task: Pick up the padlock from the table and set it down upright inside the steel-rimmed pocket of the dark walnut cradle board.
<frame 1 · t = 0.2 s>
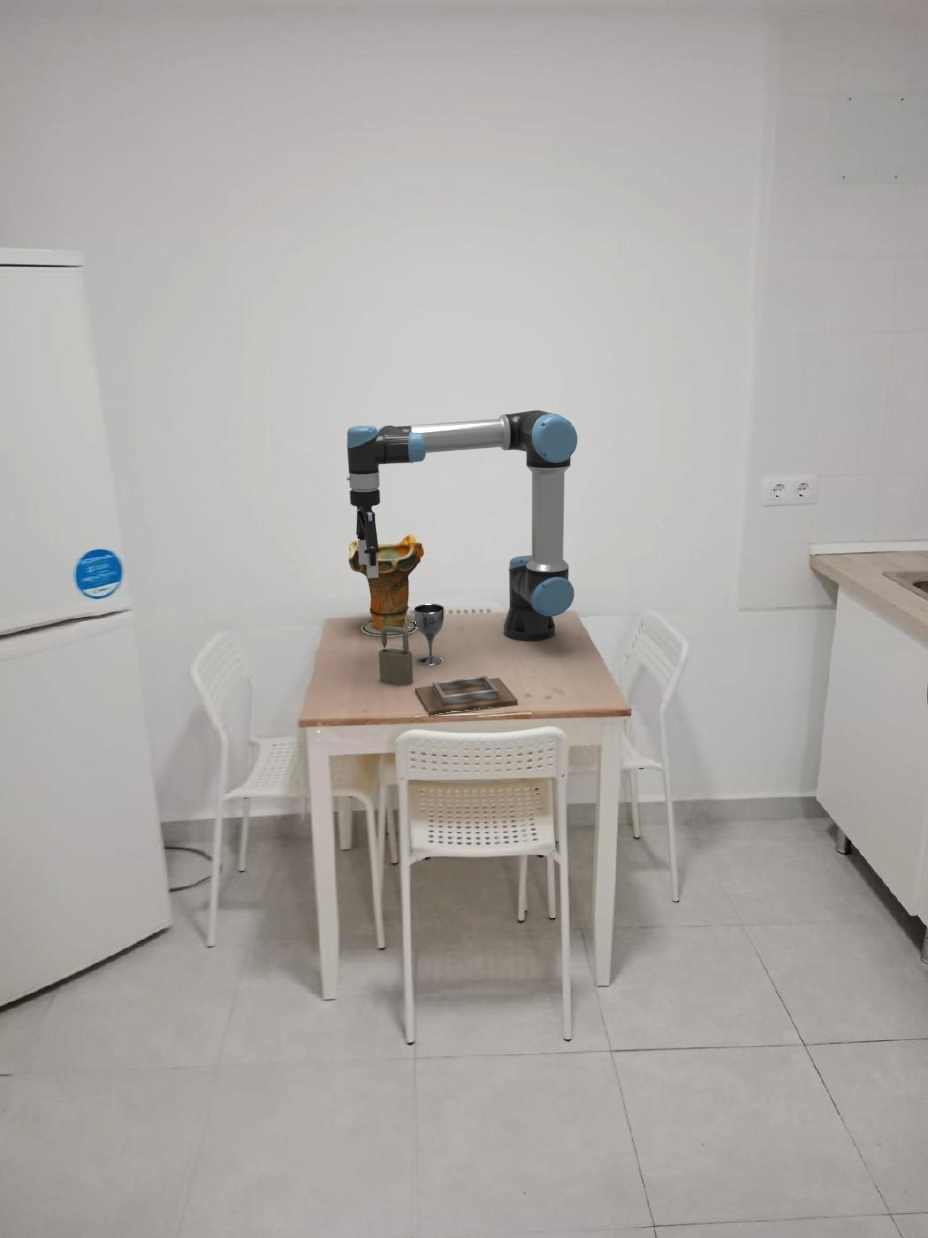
hand: (368, 570, 243), 27 cm above the table, tool pointing down, fingers open, 13 cm apart
padlock: (396, 682, 243), on the table
wine glass: (430, 661, 257), on the table
cradle: (465, 698, 232), on the table
decorative vase: (390, 628, 284), on the table
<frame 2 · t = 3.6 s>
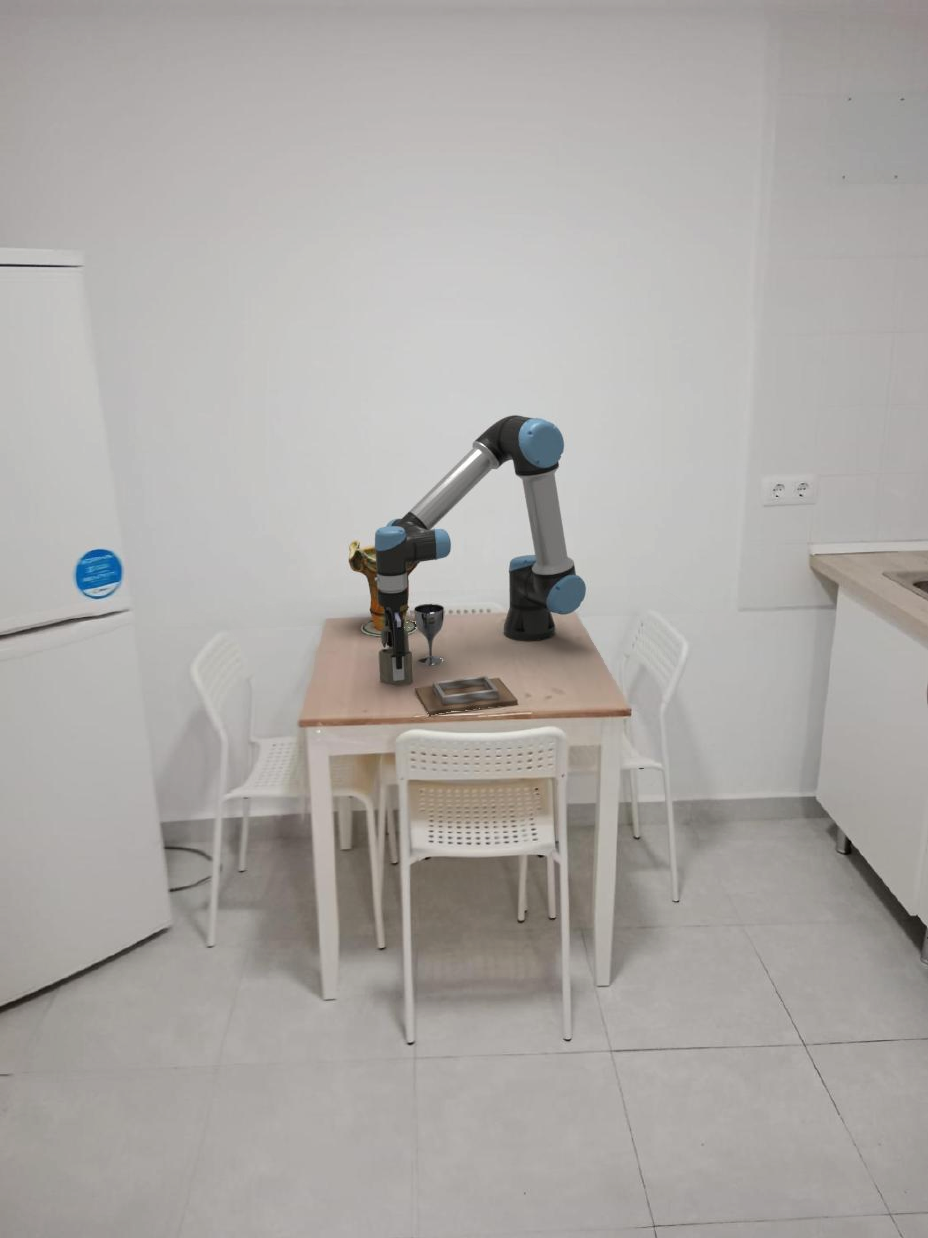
hand: (396, 674, 242), 2 cm above the table, tool pointing down, fingers closed on padlock, 6 cm apart
padlock: (396, 682, 243), on the table, touching gripper
everything else where it was.
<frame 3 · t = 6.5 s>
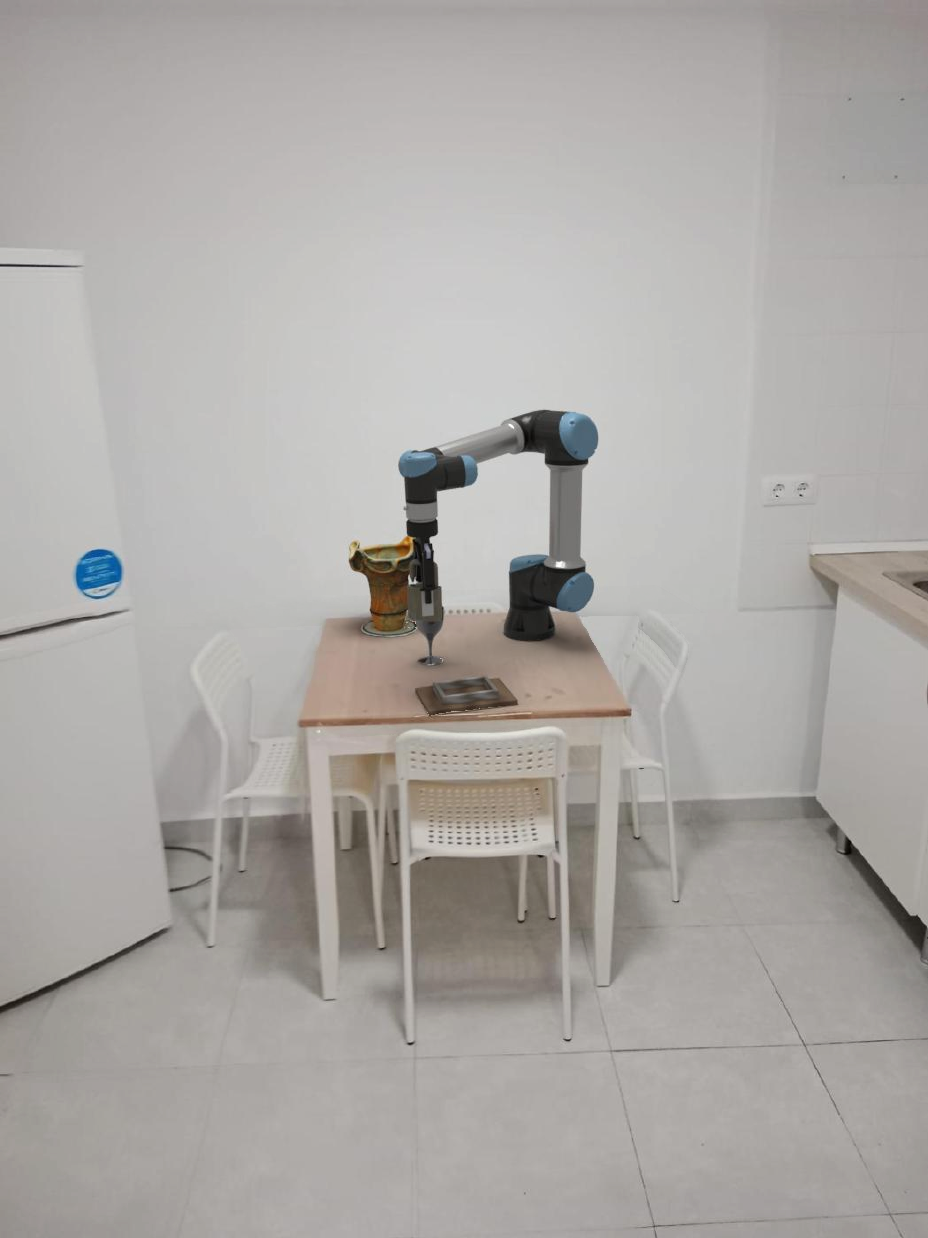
hand: (425, 611, 231), 21 cm above the table, tool pointing down, fingers closed on padlock, 6 cm apart
padlock: (425, 619, 232), point 19 cm above the table, touching gripper
everything else where it was.
when the fingers open (5 cm above the table, at t = 9.8 s): padlock drops 2 cm, resting on cradle.
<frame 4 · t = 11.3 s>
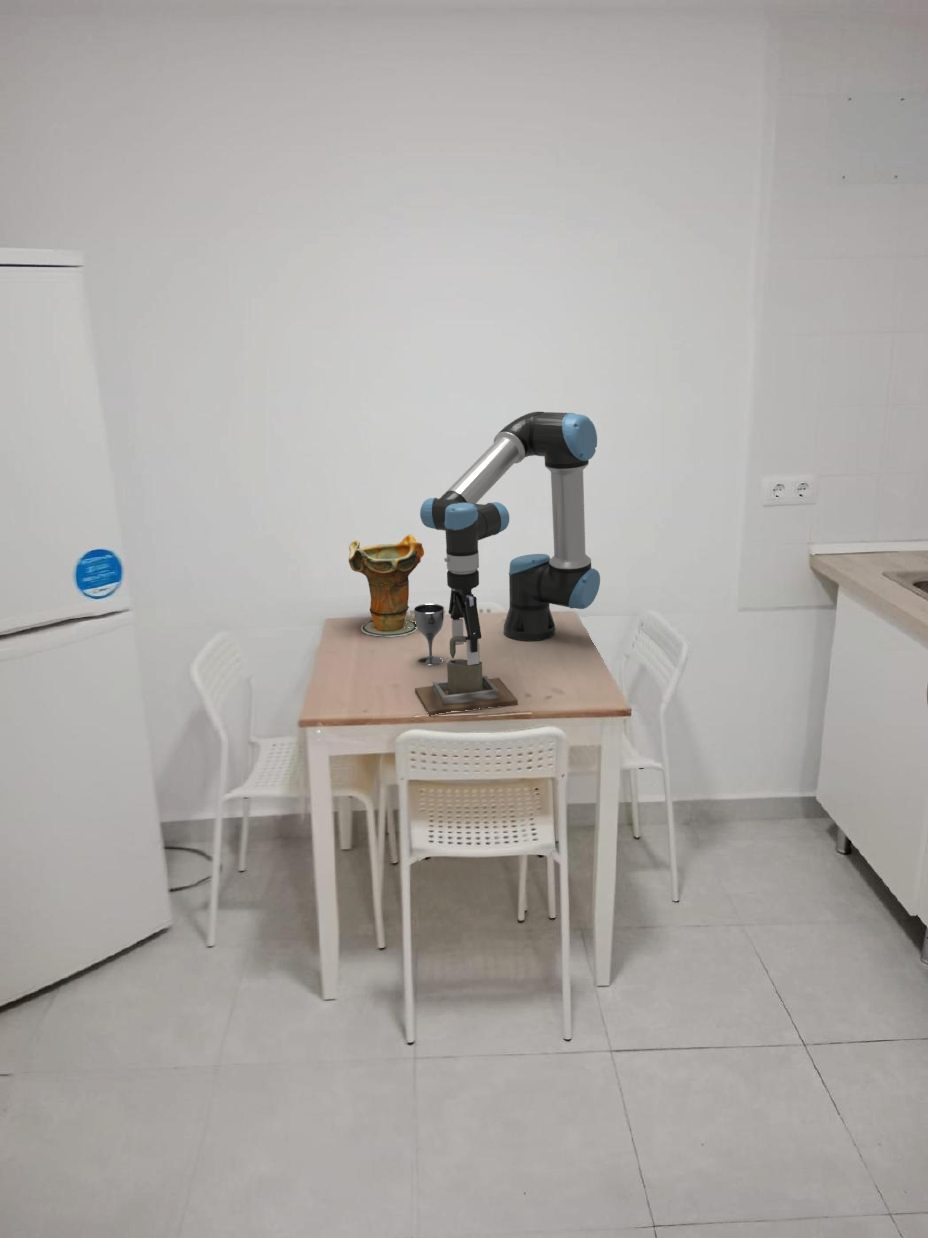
hand: (465, 654, 228), 12 cm above the table, tool pointing down, fingers open, 13 cm apart
padlock: (465, 694, 231), point 1 cm above the table, touching cradle
everything else where it was.
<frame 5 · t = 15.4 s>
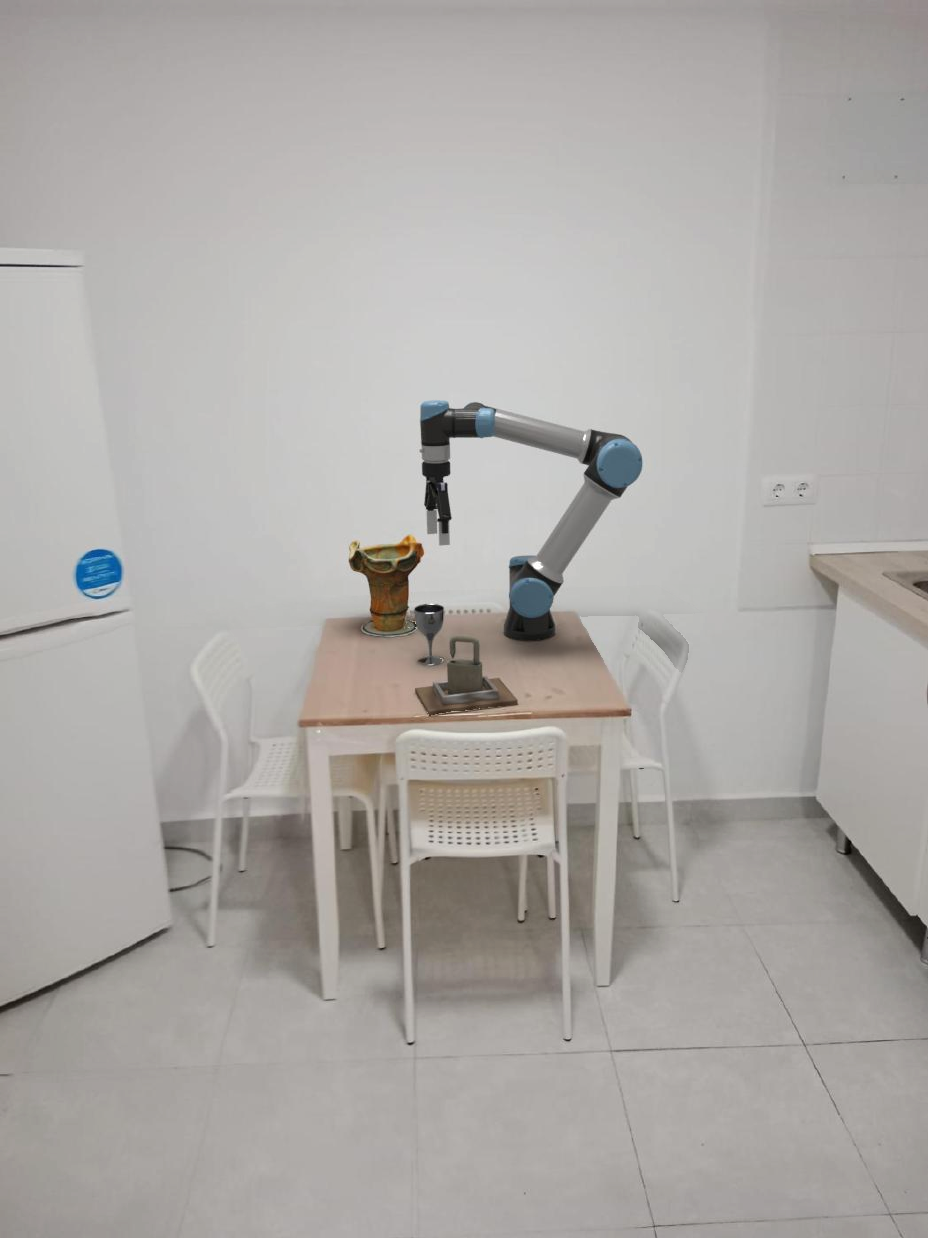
hand: (438, 539, 255), 32 cm above the table, tool pointing down, fingers open, 13 cm apart
nothing on the table moved.
at the end: padlock 0.1 cm off-centre on the cradle, point 1.0 cm above the cradle's base; padlock tilted 0°; the gripper is holding nothing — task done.
